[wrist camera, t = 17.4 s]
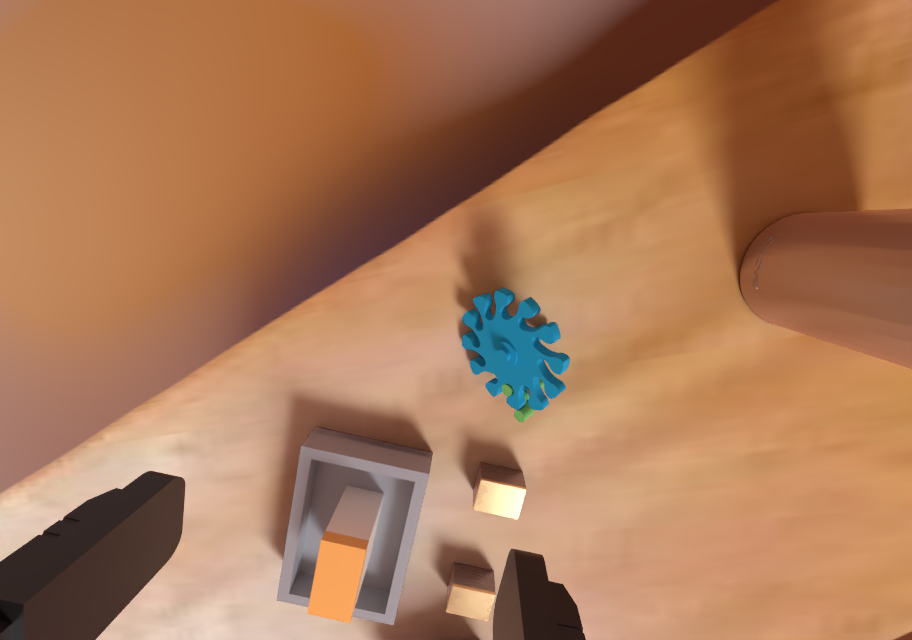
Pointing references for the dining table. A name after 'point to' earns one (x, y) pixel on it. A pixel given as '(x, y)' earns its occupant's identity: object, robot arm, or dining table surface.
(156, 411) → the dining table surface
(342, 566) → the orange-topped block
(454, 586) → the small blocks
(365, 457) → the tray
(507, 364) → the gear
